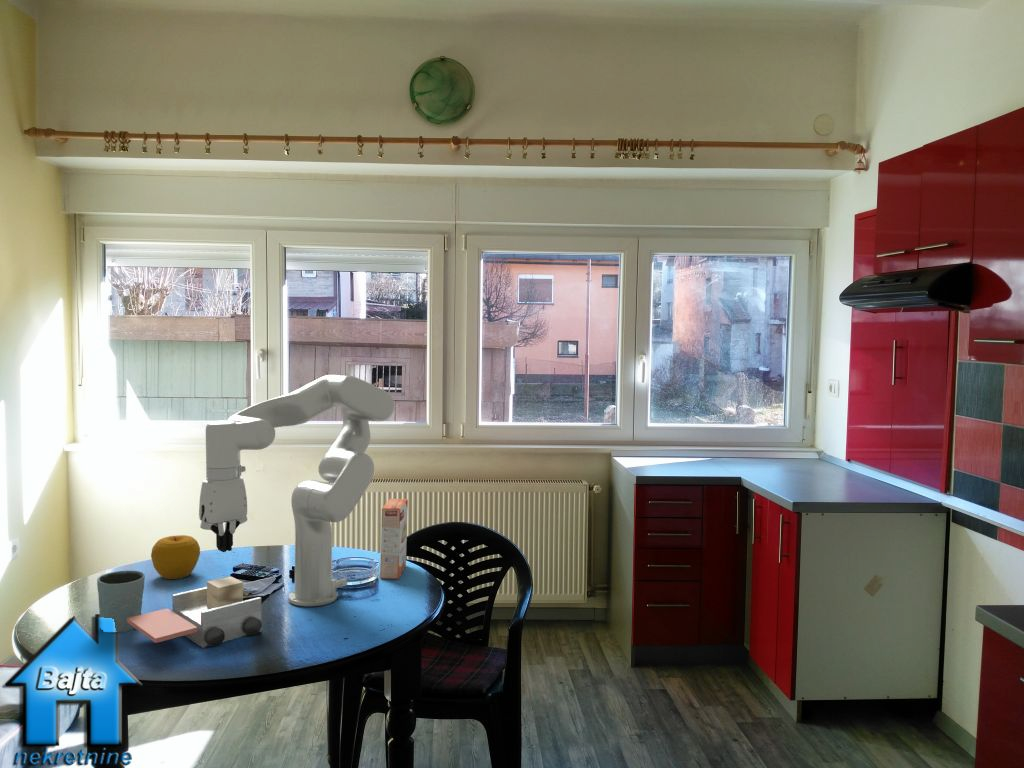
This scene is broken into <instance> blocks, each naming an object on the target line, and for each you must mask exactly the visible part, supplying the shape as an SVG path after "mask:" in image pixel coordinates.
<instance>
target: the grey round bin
mask: <svg viewBox="0 0 1024 768" xmlns="http://www.w3.org/2000/svg"><path fill="white" fill-rule="evenodd" d="M145 575H146V574H145V573H144V572H142V571H138V570H119V571H118V570H117V571H111V572H108V573H107V572H106V573H103V574H102V575H99V576H98V577H97V579H96V584H97V585H96V586H97V593H98V608H99V618H100V617H104V618H112V619H114V622H115V628H116V631H117V632H120V633H125V632H130V631H133V630H136V629H135V628H134V627H133V626H131V625H130V624H129V623H127V618H129V617H133V616H138V615H142V609H143V608H142V607H143V597H144V588H145V578H146V576H145Z"/></svg>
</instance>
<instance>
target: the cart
mask: <svg viewBox="0 0 1024 768" xmlns="http://www.w3.org/2000/svg"><path fill="white" fill-rule="evenodd" d="M172 612H174V613H176V614H177V615H179V616H180V617H182V618H183V619H185V620H187V621H188V622H190V623H191V624H193V625H195V626H196V627H197V632H195V633H191V634H187V635H183V636H184V637H186V638H187V639H189V640H190V641H192V642H193V643H195V644H197V646H199V647H201V648H207V646H208V647H212V648H213V647H215V646H216V647H218V646H220V645H221V644H222V643H225V642H228V640H229V641H231V640H232V641H233V640H235V638H236V639H239V638H243V637H246V636H250V637H252V636H253V637H254V636H256V635H258V634H259V632H262V626H263V623H262V597H260V596H258V597H254V598H250V599H245V600H243V601H241V602H237V603H233V604H229V605H225V606H221V607H217V608H213V609H210V608H209V607H207V586H206V587H200V588H197V589H191V590H188V591H187V590H186V591H182V592H178V593H174V594H172ZM242 636H243V637H242ZM216 647H215V648H216Z"/></svg>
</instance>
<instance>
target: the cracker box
mask: <svg viewBox="0 0 1024 768" xmlns="http://www.w3.org/2000/svg"><path fill="white" fill-rule="evenodd" d="M408 503H409V500H408V499H407V498H389V499H388V501H387V502H386V503H384V506H382V508H381V523H380V524H381V525H380V527H381V533H380V563H379V566H380V567H379V568H380V569H379V579H384V580H385V579H387V580H388V579H389V580H399V579H400V577H401V575H402V574H403V572H404V569H405V567H406V565H407V539H408V538H407V537H408V535H407V534H408V511H409V510H408V507H409V505H408Z"/></svg>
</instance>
